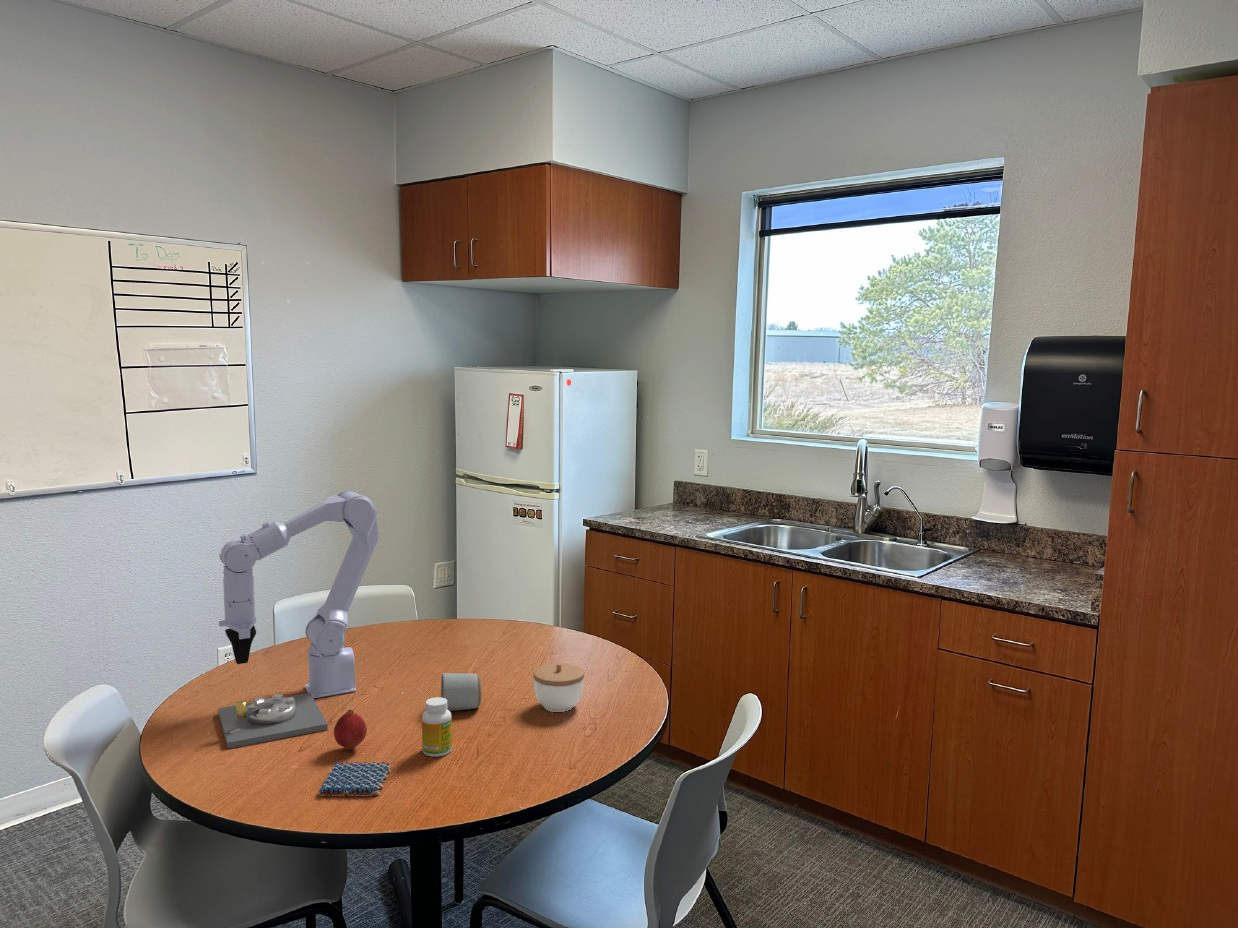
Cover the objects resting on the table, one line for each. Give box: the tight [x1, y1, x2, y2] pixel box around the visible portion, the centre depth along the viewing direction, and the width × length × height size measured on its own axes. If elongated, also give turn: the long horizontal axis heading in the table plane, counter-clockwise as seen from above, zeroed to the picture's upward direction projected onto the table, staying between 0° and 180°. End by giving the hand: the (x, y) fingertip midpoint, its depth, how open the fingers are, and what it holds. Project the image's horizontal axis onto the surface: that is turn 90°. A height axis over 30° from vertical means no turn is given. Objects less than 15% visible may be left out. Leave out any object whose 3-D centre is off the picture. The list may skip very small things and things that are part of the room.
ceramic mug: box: [440, 672, 482, 712], centre depth 184 cm, size 11×8×8 cm
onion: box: [333, 708, 368, 751], centre depth 162 cm, size 6×6×8 cm
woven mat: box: [317, 761, 392, 798], centre depth 150 cm, size 10×11×2 cm
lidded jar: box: [532, 662, 585, 713], centre depth 183 cm, size 11×11×9 cm
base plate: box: [217, 692, 329, 750], centre depth 174 cm, size 18×18×1 cm
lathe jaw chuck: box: [235, 693, 296, 725], centre depth 172 cm, size 12×9×5 cm
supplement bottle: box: [421, 696, 453, 758], centre depth 162 cm, size 5×5×10 cm
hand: (241, 662), depth 181 cm, fingers closed
